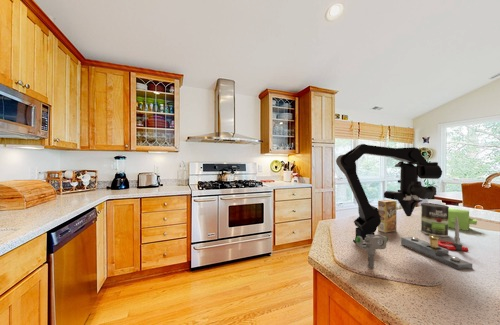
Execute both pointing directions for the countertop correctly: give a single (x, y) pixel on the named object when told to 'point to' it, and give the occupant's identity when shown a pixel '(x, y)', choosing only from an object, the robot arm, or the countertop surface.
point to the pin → (434, 242)
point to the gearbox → (460, 218)
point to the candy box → (387, 215)
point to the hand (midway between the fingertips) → (408, 216)
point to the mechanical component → (371, 245)
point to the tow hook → (456, 245)
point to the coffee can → (434, 219)
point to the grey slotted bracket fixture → (435, 253)
